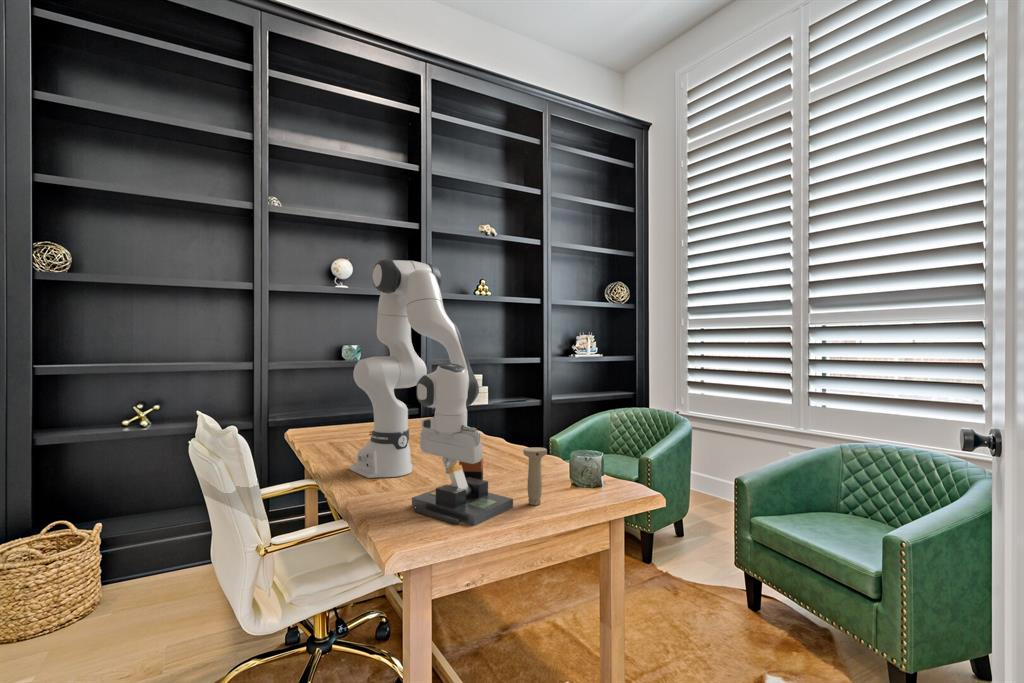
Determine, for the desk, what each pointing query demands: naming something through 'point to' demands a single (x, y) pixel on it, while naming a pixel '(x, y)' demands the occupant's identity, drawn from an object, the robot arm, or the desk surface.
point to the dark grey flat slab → (436, 515)
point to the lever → (458, 478)
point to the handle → (534, 473)
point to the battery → (473, 469)
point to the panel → (464, 509)
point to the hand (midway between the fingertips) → (449, 473)
